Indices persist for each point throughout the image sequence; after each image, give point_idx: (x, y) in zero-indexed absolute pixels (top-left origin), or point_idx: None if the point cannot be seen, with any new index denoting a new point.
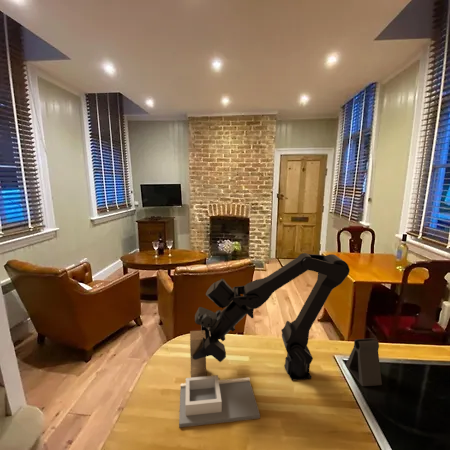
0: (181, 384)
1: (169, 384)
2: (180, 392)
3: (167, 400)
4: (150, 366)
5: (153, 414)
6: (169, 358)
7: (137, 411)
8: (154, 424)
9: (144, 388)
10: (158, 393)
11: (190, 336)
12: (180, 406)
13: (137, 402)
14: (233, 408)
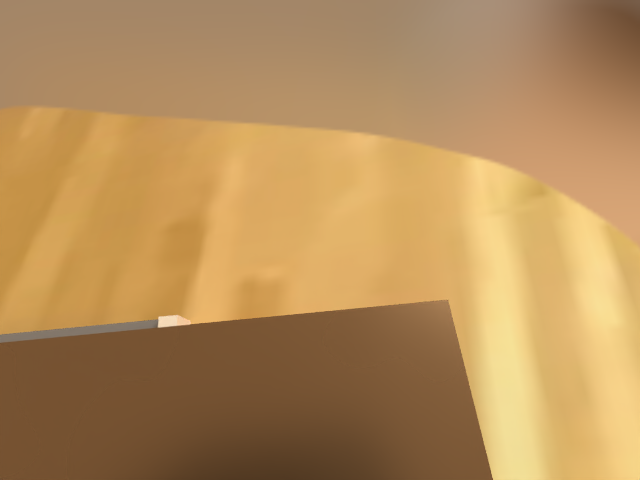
0: (170, 321)
1: (231, 253)
2: (123, 323)
3: (122, 261)
4: (371, 138)
5: (59, 213)
6: (446, 219)
7: (97, 149)
8: (3, 227)
9: (222, 146)
10: (178, 210)
11: (124, 342)
12: (19, 336)
13: (146, 138)
14: None
